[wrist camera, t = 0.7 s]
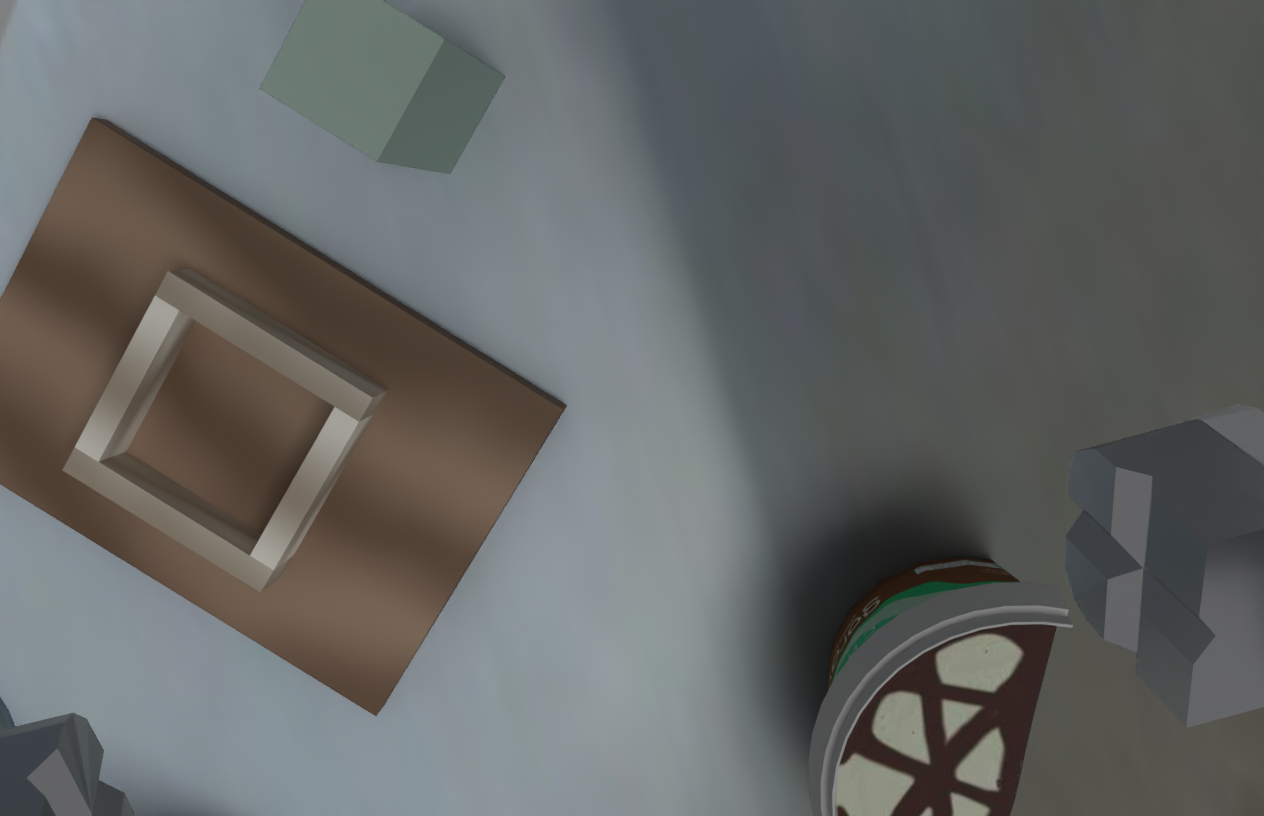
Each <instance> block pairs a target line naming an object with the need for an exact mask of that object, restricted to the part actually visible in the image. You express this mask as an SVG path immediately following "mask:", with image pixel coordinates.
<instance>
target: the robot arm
mask: <svg viewBox="0 0 1264 816" xmlns="http://www.w3.org/2000/svg"><path fill="white" fill-rule="evenodd" d="M1067 493H1068V495H1069V496H1070V497H1071V498H1072V499H1073V500H1074V501H1075V502H1076V503H1077V504H1078V505H1079V507H1080V508H1081V509H1082V510H1083V511H1082V512H1081V514H1080V515H1079V517H1078V518H1077V520H1076V521H1075V523H1074V524H1073V526H1072V527H1071V528H1070V530H1069V531H1068V533H1067V534H1066V536H1065V570H1066V573H1067V577H1068V580H1069V584H1070V587H1071V590H1072V594H1073V597H1074V600H1075V601H1076V603H1077V605H1078V607H1079V608H1080V610H1081V612H1082V613H1083V615H1084V617H1085V619H1086V620H1087V621H1088V623H1089V624H1090V625H1091V626H1092V627H1093V628H1094V629H1095V630H1096V632H1097V633H1098V634H1099V635H1100V636H1101V637H1102V638H1103V639H1104V640H1106V641H1108V642H1111V643H1114V644H1117V645H1119V646H1122V647H1125V648H1127V649H1130V650H1133V651H1135V652H1137V656H1136V675H1137V676H1138V677H1139V678H1140V679H1141V680H1142V681H1143V682H1144V684H1145V685H1146V686H1147V687H1148V688H1149V689H1150V690H1151V691H1152V692H1153V693H1154V694H1155V695H1156V696H1157V697H1158V698H1159V700H1160V701H1161V702H1162V703H1163V704H1164V705H1165V706H1166V707H1167V708H1168V709H1169V710H1170V711H1171V712H1172V713H1173V714H1174V715H1175V717H1176V718H1177V719H1178V720H1179V721H1180V722H1181V723H1182V724H1183V725H1184V726H1185V727H1186V728H1188V727H1192V726H1195V725H1199V724H1203V723H1206V722H1210V721H1214V720H1217V719H1221V718H1225V717H1229V716H1232V715H1236V714H1240V713H1243V712H1247V711H1251V710H1254V709H1258V708H1262V707H1264V412H1262V411H1261V410H1259V409H1258V408H1254V407H1250V406H1244V405H1239V404H1237V405H1234V406H1231V407H1227V408H1224V409H1220V410H1217V411H1214V412H1210V413H1207V414H1203V415H1200V416H1197V417H1193V418H1190V419H1186V420H1185V421H1184V422H1183V423H1180V424H1176V425H1172V426H1168V427H1165V428H1161V429H1157V430H1153V431H1150V432H1146V433H1142V434H1138V435H1135V436H1131V437H1127V438H1123V439H1120V440H1116V441H1112V442H1108V443H1105V444H1101V445H1097V446H1093V447H1090V448H1086V449H1082V450H1078V451H1076V453H1075V455H1074V458H1073V460H1072V462H1071V464H1070V467H1069V475H1068V490H1067ZM103 753H104V750H103V748H102V746H101V744H100V743H99V741H98V739H97V737H96V735H95V733H94V731H93V730H92V728H91V726H90V724H89V722H88V720H87V719H86V718H84V717H82V716H79V715H77V714H75V713H70V714H66V715H62V716H58V717H54V718H50V719H45V720H41V721H37V722H33V723H29V724H25V725H20V726H16V727H12V728H8V729H4V730H0V816H135V815H134V812H133V810H132V808H131V806H130V804H129V802H128V800H127V797H126V795H125V793H123V792H121V791H119V790H117V789H115V788H113V787H111V786H109V785H107V784H105V783H103V782H101V781H99V780H98V779H99V774H100V769H101V763H102V758H103Z"/></svg>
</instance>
